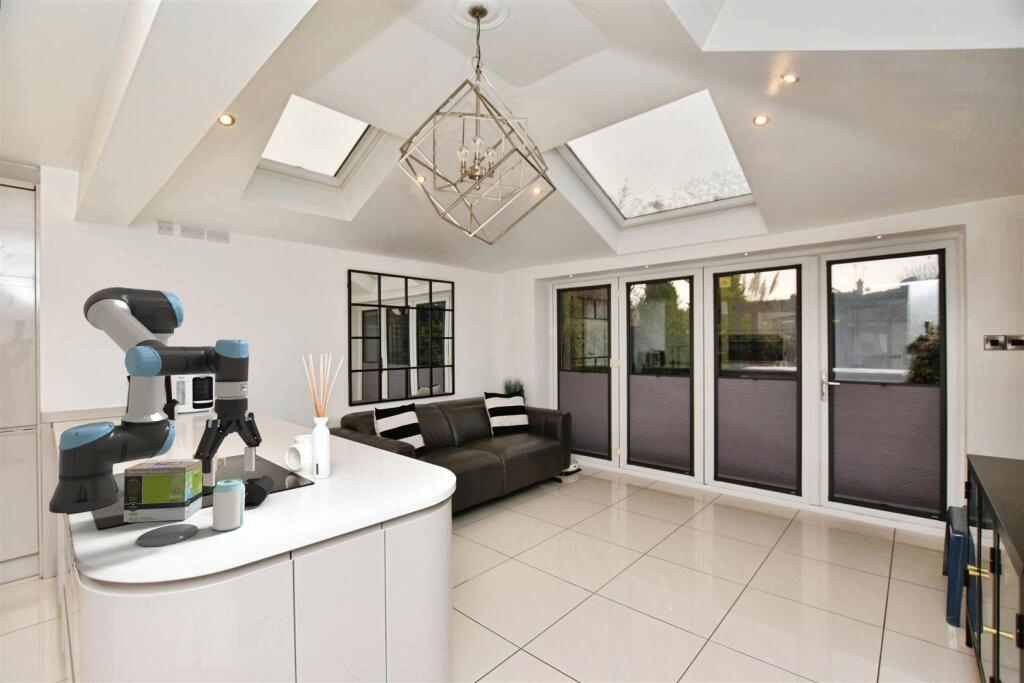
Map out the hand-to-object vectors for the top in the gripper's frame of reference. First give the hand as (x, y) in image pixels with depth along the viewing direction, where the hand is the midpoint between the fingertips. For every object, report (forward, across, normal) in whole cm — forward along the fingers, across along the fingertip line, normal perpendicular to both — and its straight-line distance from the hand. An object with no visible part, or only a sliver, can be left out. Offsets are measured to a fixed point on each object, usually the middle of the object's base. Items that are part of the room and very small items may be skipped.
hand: (230, 477), depth 119 cm
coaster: (+13, -8, +10) cm, 18 cm away
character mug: (+13, +21, +28) cm, 37 cm away
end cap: (+13, +18, +6) cm, 23 cm away
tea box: (+13, +3, +24) cm, 27 cm away
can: (+13, 0, 0) cm, 13 cm away
